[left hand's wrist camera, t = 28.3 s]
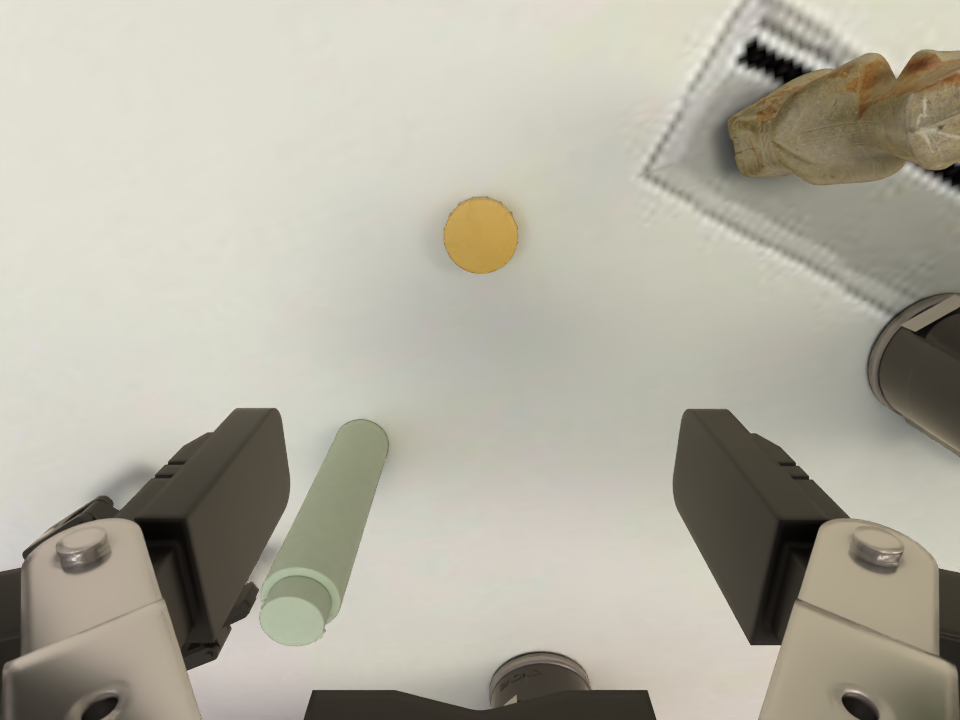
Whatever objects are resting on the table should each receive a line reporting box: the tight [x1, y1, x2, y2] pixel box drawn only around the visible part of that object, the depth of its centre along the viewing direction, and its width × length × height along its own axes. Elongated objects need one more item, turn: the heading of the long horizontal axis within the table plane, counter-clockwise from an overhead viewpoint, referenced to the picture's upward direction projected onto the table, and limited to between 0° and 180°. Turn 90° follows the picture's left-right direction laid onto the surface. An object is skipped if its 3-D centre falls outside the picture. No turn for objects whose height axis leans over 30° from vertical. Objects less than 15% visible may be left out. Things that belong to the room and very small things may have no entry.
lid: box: [444, 197, 518, 274], centre depth 37 cm, size 5×5×2 cm
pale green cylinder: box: [260, 420, 389, 646], centre depth 35 cm, size 4×4×18 cm
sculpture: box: [727, 50, 960, 185], centre depth 28 cm, size 6×7×15 cm
